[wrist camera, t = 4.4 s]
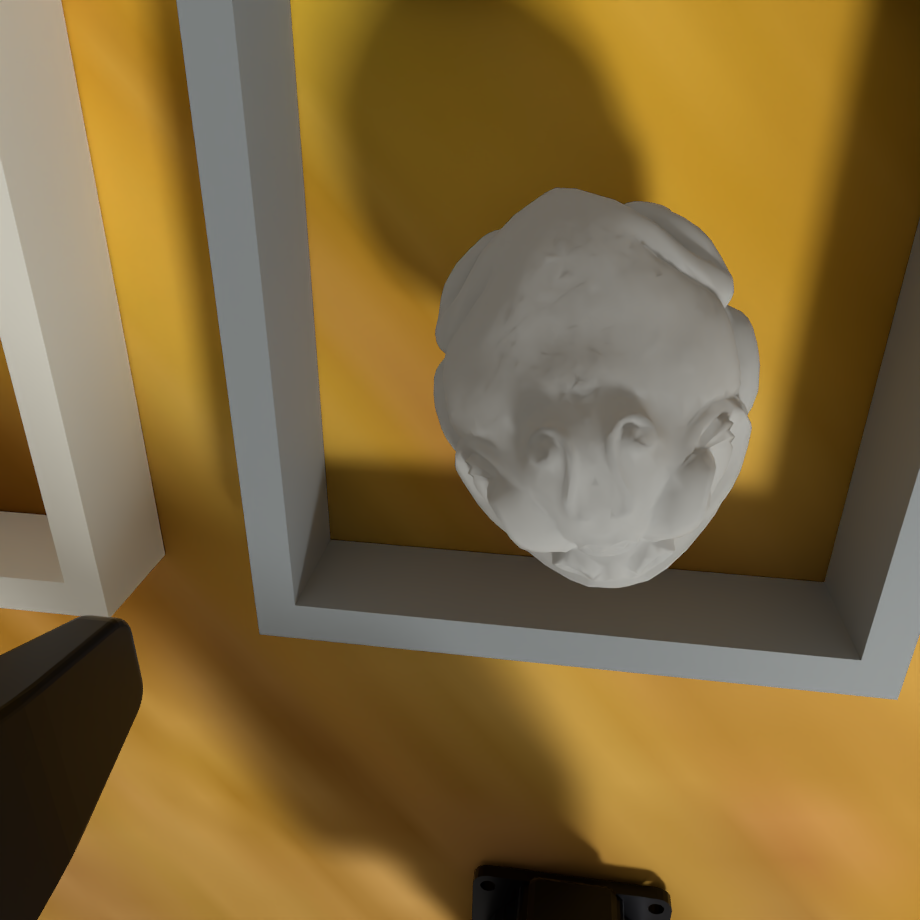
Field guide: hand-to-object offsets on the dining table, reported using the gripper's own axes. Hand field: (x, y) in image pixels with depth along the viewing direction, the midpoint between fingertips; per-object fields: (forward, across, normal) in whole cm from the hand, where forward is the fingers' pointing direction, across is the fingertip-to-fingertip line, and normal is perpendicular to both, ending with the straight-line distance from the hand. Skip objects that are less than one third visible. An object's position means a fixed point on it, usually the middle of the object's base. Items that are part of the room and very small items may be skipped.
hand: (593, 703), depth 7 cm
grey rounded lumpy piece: (+12, 0, 0) cm, 12 cm away
